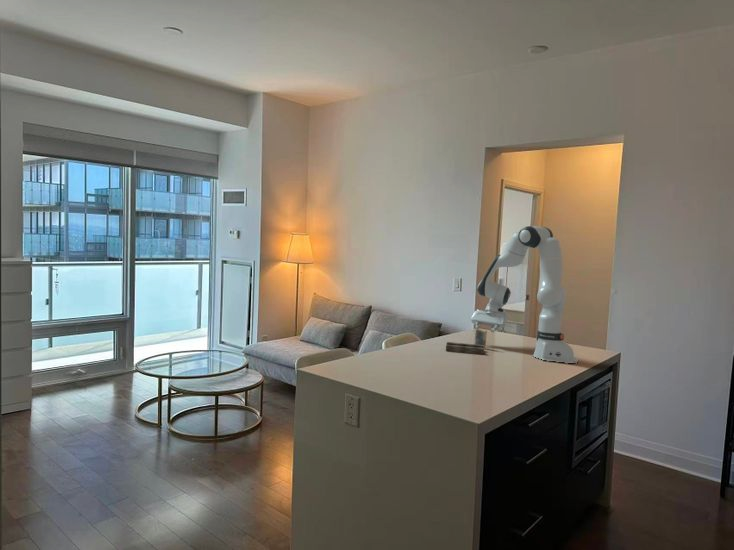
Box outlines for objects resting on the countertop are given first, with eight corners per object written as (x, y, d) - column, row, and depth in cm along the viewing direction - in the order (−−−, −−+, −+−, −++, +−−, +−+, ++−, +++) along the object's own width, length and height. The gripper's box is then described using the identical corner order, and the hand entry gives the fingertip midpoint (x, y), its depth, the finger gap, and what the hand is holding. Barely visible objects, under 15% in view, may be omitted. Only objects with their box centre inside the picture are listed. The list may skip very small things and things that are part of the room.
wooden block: (485, 348, 300) (486, 330, 299) (483, 349, 298) (484, 331, 297) (476, 346, 303) (477, 329, 302) (474, 347, 301) (475, 329, 300)
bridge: (483, 350, 294) (483, 345, 293) (483, 354, 284) (484, 349, 283) (446, 347, 297) (446, 341, 297) (445, 351, 287) (446, 345, 287)
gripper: (474, 305, 315) (466, 324, 307) (508, 310, 303) (499, 329, 295) (477, 312, 318) (468, 330, 311) (510, 317, 307) (502, 336, 299)
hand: (484, 330), depth 303 cm, fingers open, 8 cm apart
